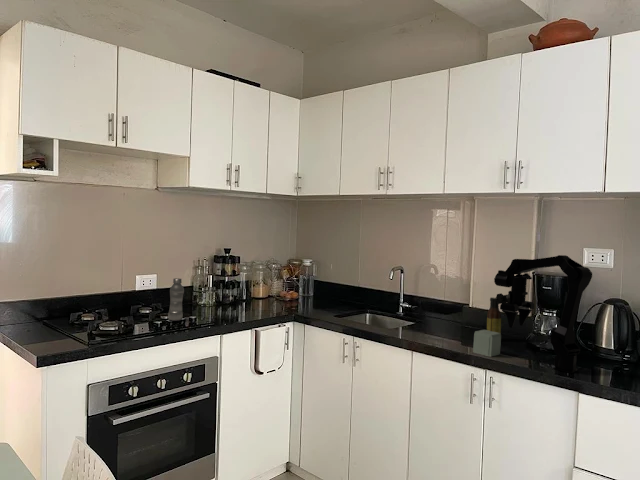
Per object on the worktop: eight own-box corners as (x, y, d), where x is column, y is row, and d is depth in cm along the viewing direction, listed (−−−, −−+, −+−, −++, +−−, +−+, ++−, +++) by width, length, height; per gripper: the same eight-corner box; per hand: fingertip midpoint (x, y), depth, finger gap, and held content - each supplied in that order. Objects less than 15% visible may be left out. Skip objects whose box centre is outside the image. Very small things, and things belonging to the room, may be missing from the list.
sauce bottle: (502, 340, 234) (505, 298, 233) (497, 342, 229) (500, 299, 229) (488, 337, 238) (491, 296, 238) (483, 339, 233) (486, 297, 233)
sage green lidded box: (500, 354, 206) (501, 333, 205) (490, 356, 200) (492, 335, 200) (482, 349, 211) (483, 329, 211) (472, 352, 206) (474, 331, 206)
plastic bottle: (166, 319, 235) (168, 278, 235) (181, 319, 239) (183, 278, 238) (169, 322, 230) (171, 279, 229) (183, 321, 233) (186, 279, 232)
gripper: (510, 285, 217) (508, 321, 217) (489, 287, 204) (486, 325, 205) (535, 289, 209) (533, 325, 209) (515, 291, 196) (512, 330, 196)
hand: (516, 326), depth 205 cm, fingers open, 9 cm apart
